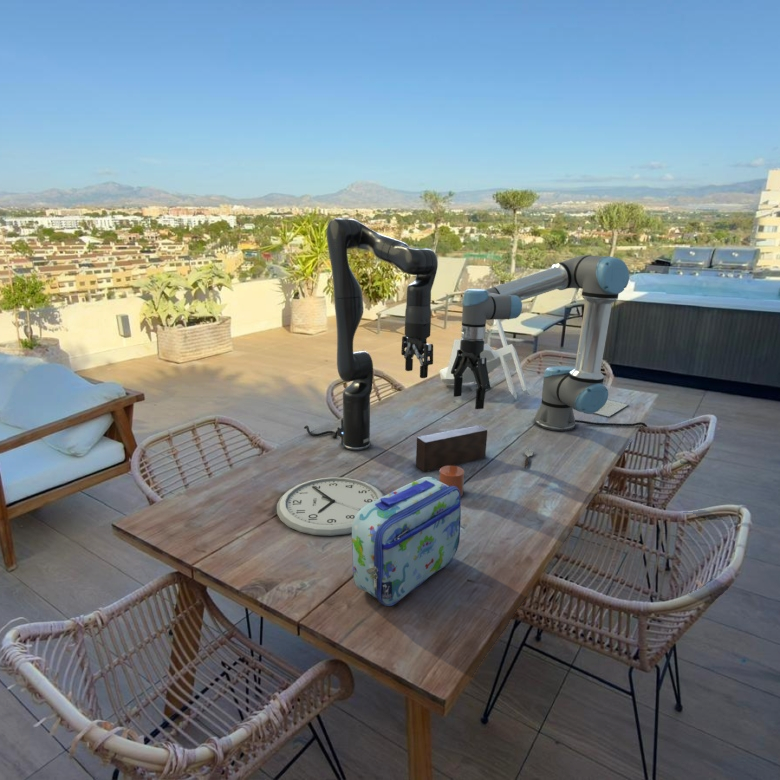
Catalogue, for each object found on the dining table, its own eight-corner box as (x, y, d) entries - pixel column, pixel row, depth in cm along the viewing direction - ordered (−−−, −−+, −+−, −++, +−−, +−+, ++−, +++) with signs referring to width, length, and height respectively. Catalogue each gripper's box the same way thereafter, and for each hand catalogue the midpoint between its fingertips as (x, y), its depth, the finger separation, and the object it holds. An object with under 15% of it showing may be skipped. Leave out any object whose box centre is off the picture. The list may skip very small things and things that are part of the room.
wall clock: (392, 527, 129) (268, 531, 127) (391, 533, 130) (269, 537, 127) (383, 473, 158) (282, 475, 155) (383, 478, 158) (282, 480, 156)
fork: (520, 469, 166) (521, 463, 165) (526, 450, 180) (526, 444, 180) (528, 470, 165) (529, 464, 164) (533, 451, 179) (534, 445, 179)
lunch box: (381, 619, 101) (382, 525, 95) (345, 592, 109) (344, 503, 102) (464, 563, 119) (469, 480, 113) (428, 543, 126) (432, 464, 120)
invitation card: (608, 416, 214) (573, 407, 224) (608, 416, 214) (573, 408, 224) (628, 404, 229) (594, 396, 238) (628, 405, 229) (594, 397, 238)
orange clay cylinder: (462, 487, 154) (464, 466, 152) (463, 499, 147) (464, 477, 145) (438, 486, 154) (439, 464, 152) (438, 497, 148) (439, 475, 146)
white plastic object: (461, 429, 252) (437, 405, 227) (444, 352, 274) (420, 323, 250) (535, 404, 240) (518, 377, 215) (510, 326, 262) (492, 293, 237)
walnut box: (476, 452, 178) (478, 425, 175) (485, 457, 174) (487, 429, 171) (415, 465, 167) (416, 437, 164) (424, 472, 163) (425, 442, 160)
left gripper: (394, 317, 155) (393, 369, 160) (419, 325, 143) (417, 381, 148) (416, 315, 159) (414, 367, 164) (442, 323, 147) (439, 378, 152)
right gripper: (443, 332, 175) (439, 392, 182) (484, 347, 154) (479, 415, 160) (462, 331, 178) (458, 390, 185) (505, 346, 157) (499, 412, 163)
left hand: (416, 374), depth 156 cm, fingers open, 8 cm apart
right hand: (467, 402), depth 172 cm, fingers open, 13 cm apart
